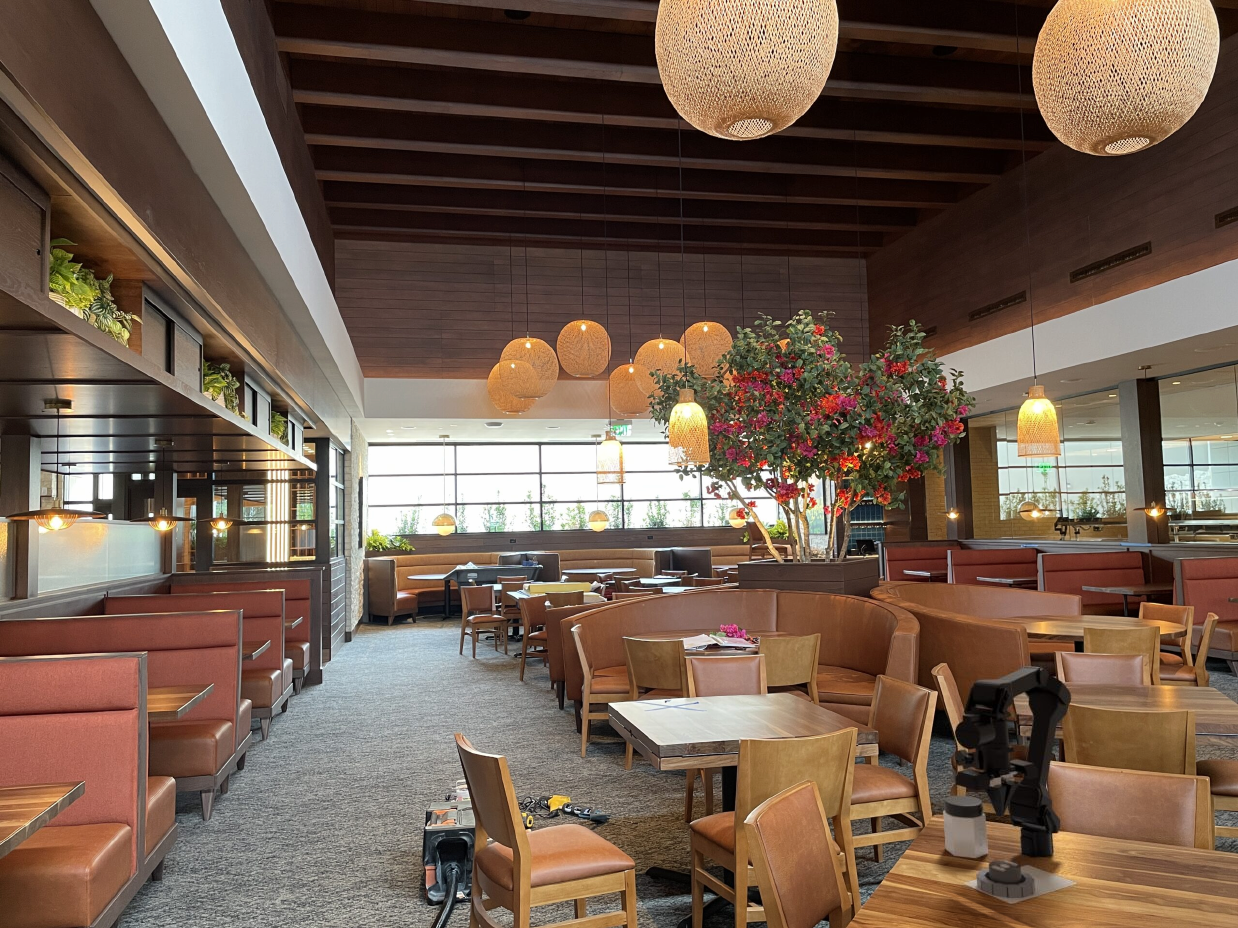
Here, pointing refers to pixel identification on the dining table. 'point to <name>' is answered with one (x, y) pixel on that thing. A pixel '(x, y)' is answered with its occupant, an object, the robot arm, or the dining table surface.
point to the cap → (1004, 872)
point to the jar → (965, 826)
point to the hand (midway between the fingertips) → (999, 815)
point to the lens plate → (1020, 885)
